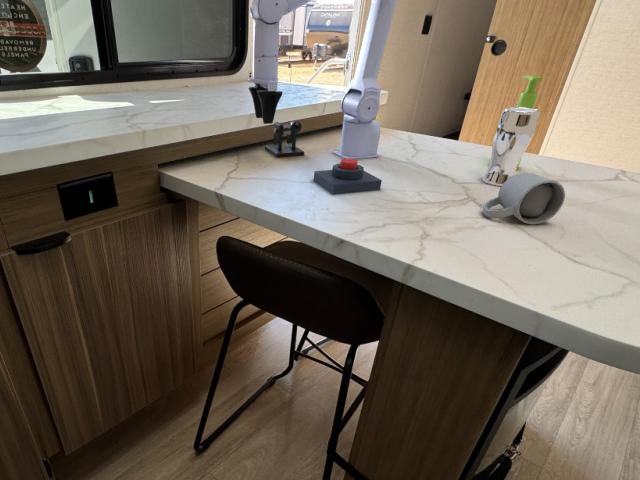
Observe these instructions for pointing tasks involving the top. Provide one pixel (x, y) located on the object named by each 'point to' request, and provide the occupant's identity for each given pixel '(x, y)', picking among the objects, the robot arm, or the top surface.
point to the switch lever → (292, 128)
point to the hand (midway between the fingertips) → (264, 120)
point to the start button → (348, 164)
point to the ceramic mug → (527, 199)
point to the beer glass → (510, 142)
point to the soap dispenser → (529, 94)
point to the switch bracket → (283, 149)
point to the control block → (346, 180)
